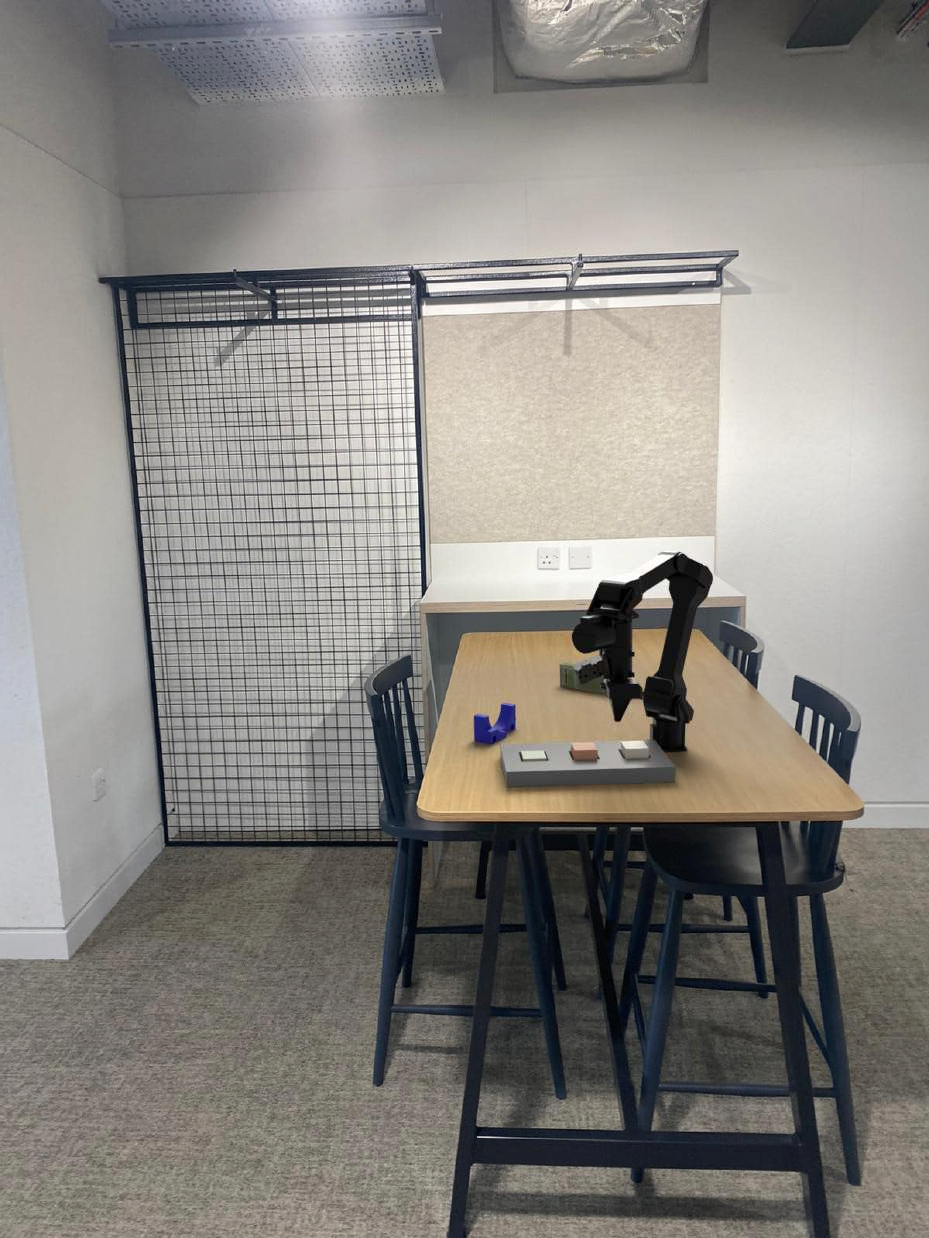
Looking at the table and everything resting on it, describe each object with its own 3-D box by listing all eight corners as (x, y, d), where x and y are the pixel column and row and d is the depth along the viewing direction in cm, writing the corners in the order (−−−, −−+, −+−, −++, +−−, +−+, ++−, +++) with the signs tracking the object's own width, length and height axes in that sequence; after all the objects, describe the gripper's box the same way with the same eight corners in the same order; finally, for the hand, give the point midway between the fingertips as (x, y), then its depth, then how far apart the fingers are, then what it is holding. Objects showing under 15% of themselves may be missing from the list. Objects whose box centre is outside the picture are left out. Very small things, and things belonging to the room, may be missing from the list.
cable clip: (490, 745, 187) (490, 718, 186) (474, 741, 189) (473, 715, 188) (521, 730, 196) (521, 705, 195) (504, 727, 199) (504, 702, 198)
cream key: (643, 750, 173) (643, 740, 172) (648, 758, 168) (648, 748, 168) (620, 751, 173) (620, 741, 172) (625, 758, 168) (625, 748, 168)
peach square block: (593, 751, 173) (593, 742, 172) (597, 759, 168) (597, 749, 168) (571, 752, 172) (571, 742, 172) (574, 760, 168) (574, 750, 168)
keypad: (654, 753, 179) (654, 739, 178) (675, 781, 163) (675, 766, 163) (500, 757, 178) (500, 744, 178) (506, 786, 162) (506, 771, 162)
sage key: (543, 759, 172) (543, 750, 172) (546, 767, 168) (546, 758, 168) (521, 760, 172) (521, 751, 172) (523, 768, 168) (523, 758, 168)
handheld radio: (564, 684, 235) (649, 698, 221) (558, 688, 233) (644, 701, 218) (564, 661, 234) (649, 672, 219) (558, 664, 231) (644, 676, 217)
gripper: (569, 635, 175) (570, 708, 179) (582, 657, 157) (583, 738, 160) (624, 633, 175) (624, 706, 179) (643, 655, 157) (642, 736, 160)
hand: (617, 721), depth 169 cm, fingers closed
